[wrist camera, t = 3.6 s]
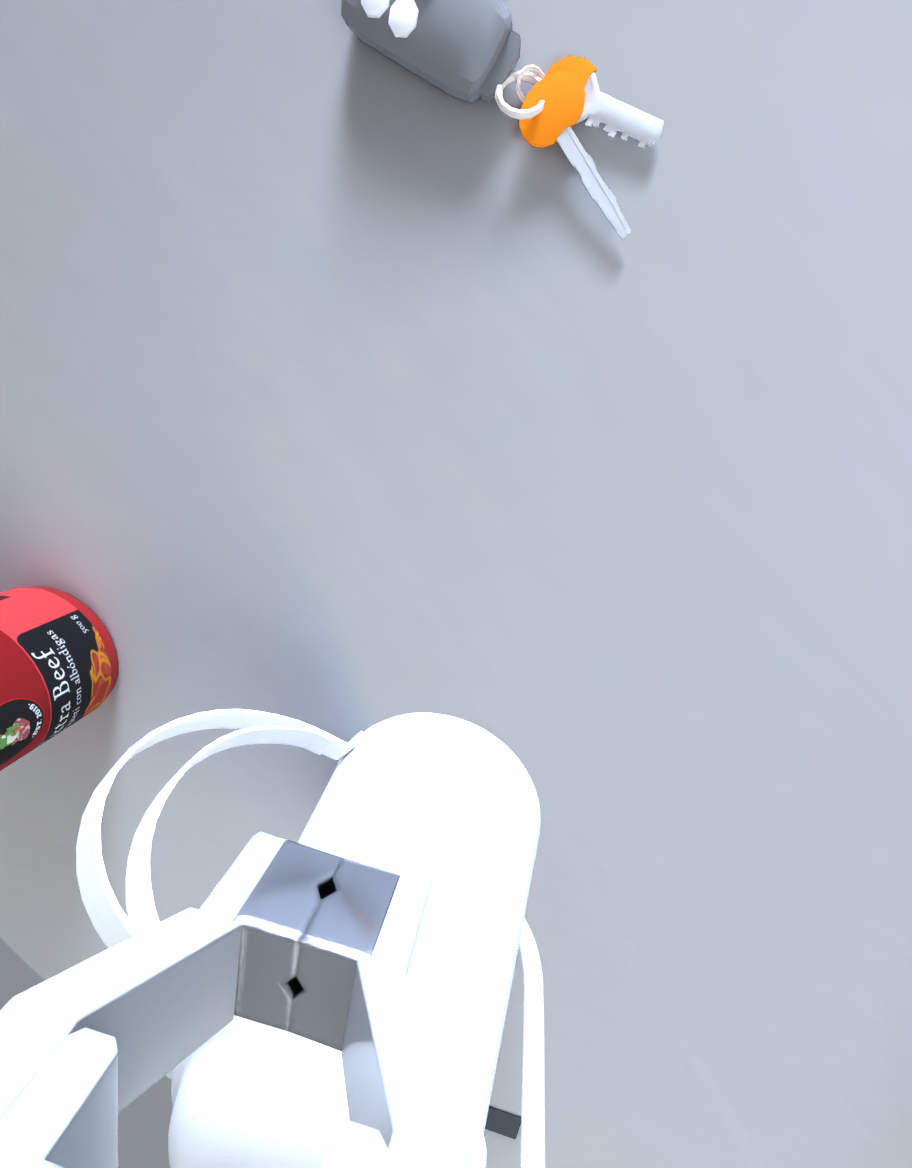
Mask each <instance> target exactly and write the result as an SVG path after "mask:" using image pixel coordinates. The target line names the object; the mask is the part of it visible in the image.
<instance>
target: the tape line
mask: <svg viewBox="0 0 912 1168" xmlns="http://www.w3.org/2000/svg"><path fill="white" fill-rule="evenodd" d="M520 1124H521V1118H519V1117H517V1116H514V1115H511V1114H508V1113H505V1112H502V1111H499V1110H496V1109H494V1108H491V1107H489V1109H488V1114H487V1120H486V1125H485V1129H488V1130H490V1131H493V1132H496V1133H499V1134H502V1135H504V1136H507V1137H510V1138H513V1139H516V1136H517V1133H518V1130H519V1127H520Z"/></svg>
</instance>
